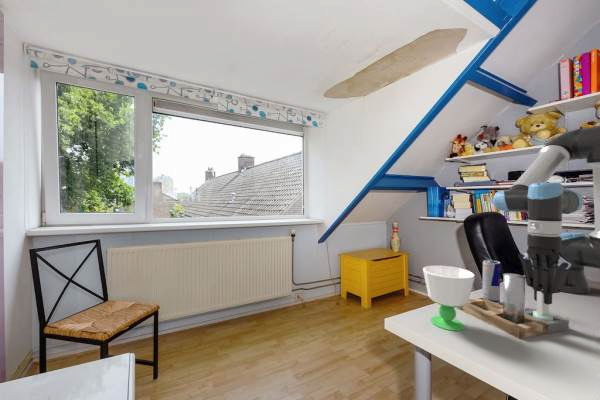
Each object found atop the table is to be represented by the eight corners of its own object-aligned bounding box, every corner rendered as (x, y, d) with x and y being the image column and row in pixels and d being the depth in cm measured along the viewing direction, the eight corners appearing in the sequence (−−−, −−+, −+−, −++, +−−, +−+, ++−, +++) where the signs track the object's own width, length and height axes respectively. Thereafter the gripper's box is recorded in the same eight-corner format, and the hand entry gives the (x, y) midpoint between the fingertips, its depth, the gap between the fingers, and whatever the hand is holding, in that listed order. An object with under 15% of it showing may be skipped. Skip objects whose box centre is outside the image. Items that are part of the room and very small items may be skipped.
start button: (539, 317, 82) (539, 310, 82) (556, 324, 78) (556, 316, 78) (529, 319, 81) (529, 311, 81) (545, 326, 76) (545, 318, 76)
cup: (442, 337, 72) (442, 279, 72) (413, 314, 86) (413, 266, 85) (486, 333, 74) (487, 277, 74) (451, 312, 88) (451, 264, 88)
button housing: (537, 317, 84) (537, 309, 84) (568, 329, 76) (568, 320, 76) (518, 320, 82) (518, 312, 82) (548, 333, 74) (548, 324, 74)
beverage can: (502, 305, 93) (503, 263, 93) (486, 304, 94) (487, 262, 94) (495, 300, 98) (495, 259, 98) (479, 298, 99) (480, 259, 99)
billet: (511, 321, 81) (511, 272, 81) (528, 329, 76) (529, 277, 76) (498, 323, 80) (499, 274, 80) (515, 331, 75) (516, 279, 75)
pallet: (482, 304, 94) (482, 297, 94) (548, 333, 74) (548, 324, 74) (457, 308, 91) (457, 300, 91) (519, 338, 71) (519, 329, 71)
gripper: (511, 232, 84) (510, 305, 84) (561, 238, 71) (560, 325, 72) (529, 231, 86) (528, 303, 86) (580, 237, 73) (579, 321, 74)
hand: (542, 313), depth 79 cm, fingers closed
